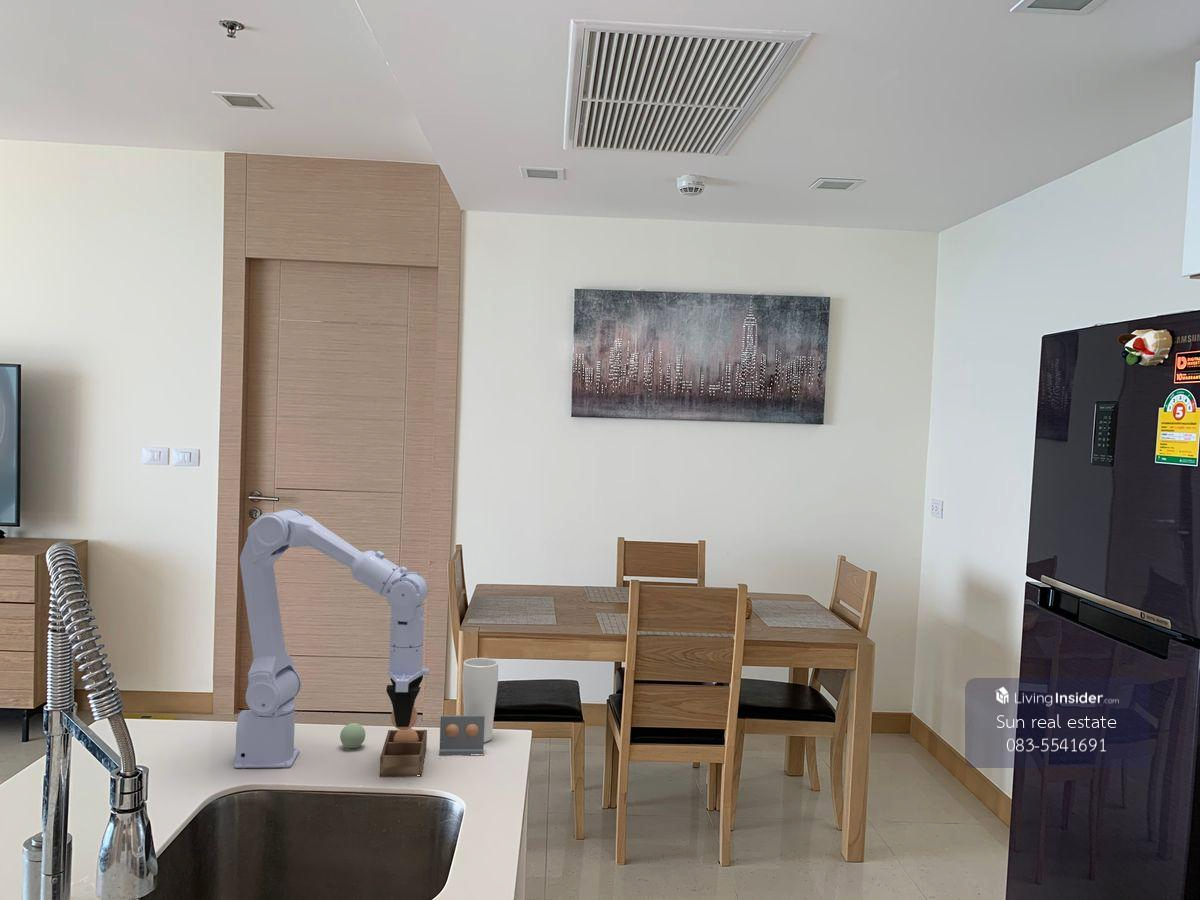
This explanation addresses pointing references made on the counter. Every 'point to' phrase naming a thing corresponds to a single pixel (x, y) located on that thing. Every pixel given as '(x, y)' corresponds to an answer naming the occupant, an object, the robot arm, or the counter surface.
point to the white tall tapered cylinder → (480, 690)
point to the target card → (462, 735)
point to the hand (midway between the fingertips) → (404, 721)
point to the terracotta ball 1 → (412, 721)
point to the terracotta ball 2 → (406, 736)
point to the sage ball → (352, 735)
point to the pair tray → (403, 755)
